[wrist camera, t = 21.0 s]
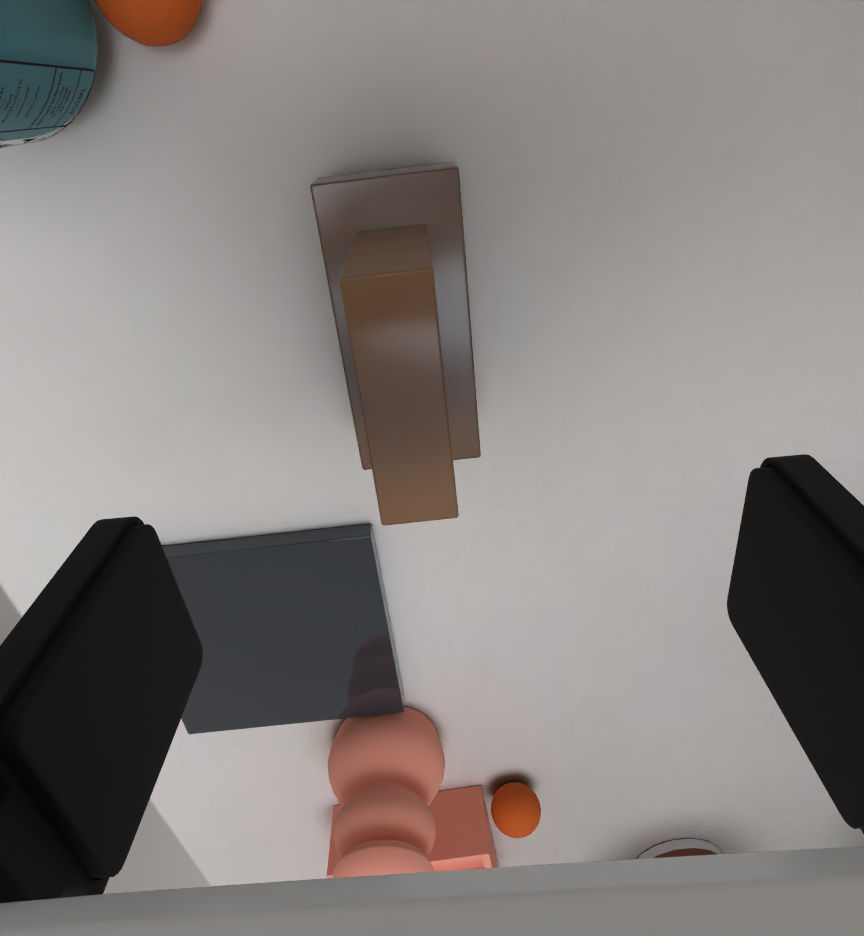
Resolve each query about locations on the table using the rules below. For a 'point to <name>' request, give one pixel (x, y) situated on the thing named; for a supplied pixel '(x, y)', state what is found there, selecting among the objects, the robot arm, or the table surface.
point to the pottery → (401, 802)
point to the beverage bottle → (44, 64)
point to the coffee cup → (681, 849)
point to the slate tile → (288, 629)
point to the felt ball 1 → (152, 19)
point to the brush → (403, 329)
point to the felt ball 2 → (515, 810)
